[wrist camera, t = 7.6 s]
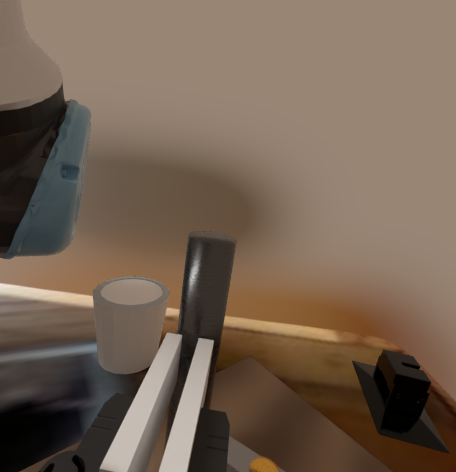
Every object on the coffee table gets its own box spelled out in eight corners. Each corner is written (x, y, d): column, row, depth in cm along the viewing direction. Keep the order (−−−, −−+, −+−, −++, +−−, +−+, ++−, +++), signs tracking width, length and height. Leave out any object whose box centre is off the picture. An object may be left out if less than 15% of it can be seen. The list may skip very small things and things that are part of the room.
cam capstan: (482, 580, 14) (623, 327, 10) (558, 893, 8) (968, 531, 4) (199, 405, 21) (226, 223, 18) (124, 494, 15) (142, 243, 12)
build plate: (470, 483, 21) (494, 435, 20) (368, 454, 22) (385, 407, 21) (403, 370, 33) (416, 335, 32) (339, 354, 34) (349, 320, 33)
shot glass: (124, 392, 24) (128, 318, 22) (74, 356, 27) (75, 289, 25) (177, 351, 30) (184, 290, 28) (131, 326, 33) (135, 269, 31)
